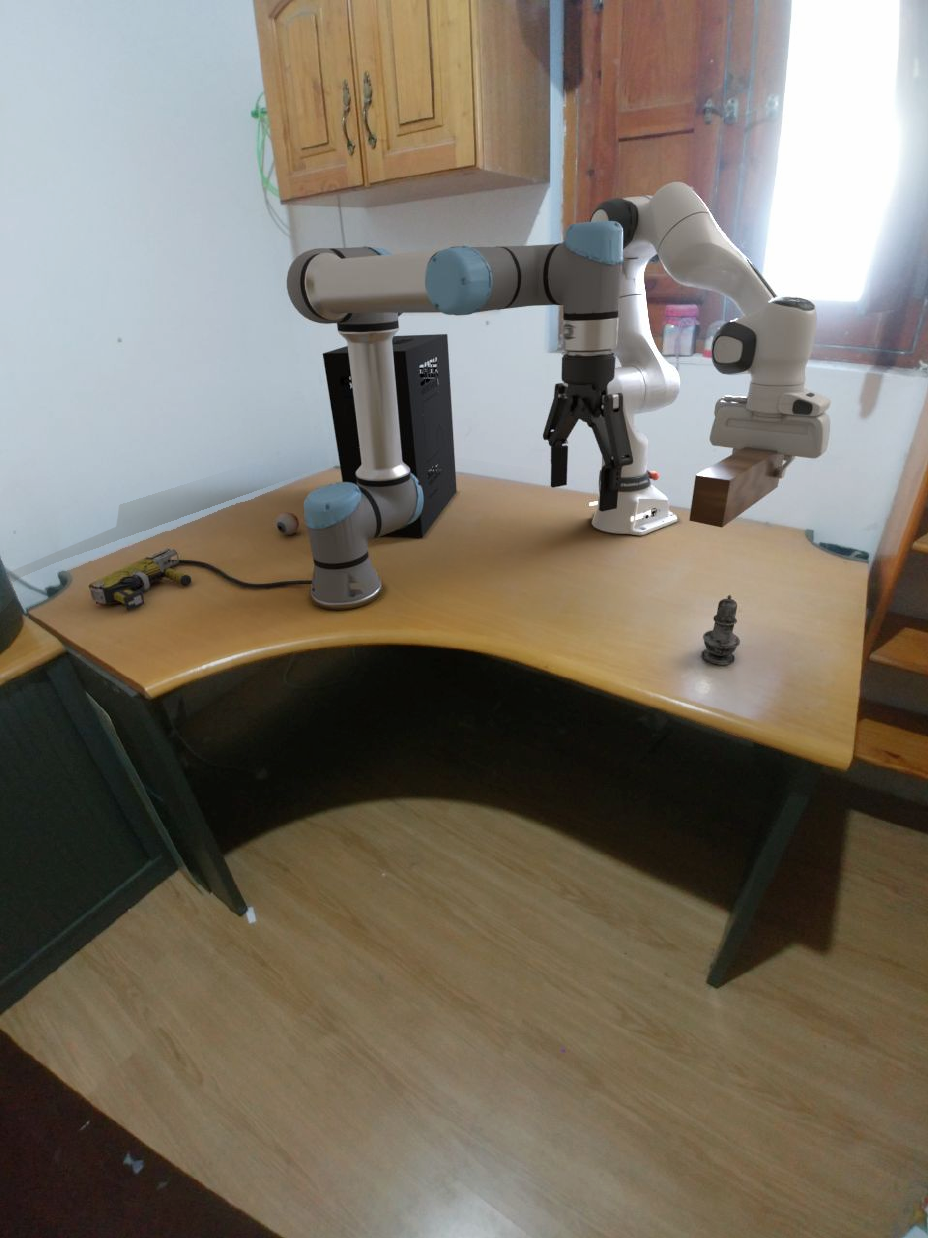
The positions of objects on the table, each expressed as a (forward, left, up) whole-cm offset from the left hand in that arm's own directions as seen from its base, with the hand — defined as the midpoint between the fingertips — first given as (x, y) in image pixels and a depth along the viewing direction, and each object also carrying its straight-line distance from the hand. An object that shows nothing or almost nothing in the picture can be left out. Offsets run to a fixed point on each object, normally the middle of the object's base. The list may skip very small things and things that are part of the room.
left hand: (581, 497), depth 96 cm
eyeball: (-87, +30, -28) cm, 96 cm away
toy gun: (-97, -6, -28) cm, 101 cm away
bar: (+23, +25, -7) cm, 35 cm away
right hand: (+26, +34, -5) cm, 44 cm away
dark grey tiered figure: (+24, +4, -28) cm, 37 cm away
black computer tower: (-63, +55, -28) cm, 88 cm away
